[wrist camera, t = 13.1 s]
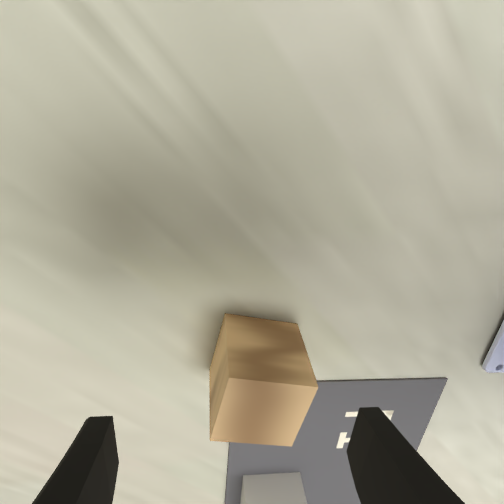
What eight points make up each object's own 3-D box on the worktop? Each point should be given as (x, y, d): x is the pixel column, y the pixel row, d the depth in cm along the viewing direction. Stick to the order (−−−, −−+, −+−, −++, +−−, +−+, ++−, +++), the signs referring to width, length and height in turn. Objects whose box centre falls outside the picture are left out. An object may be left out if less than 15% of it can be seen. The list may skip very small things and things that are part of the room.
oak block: (297, 323, 23) (318, 387, 18) (276, 376, 25) (291, 446, 20) (224, 312, 22) (229, 377, 18) (209, 369, 24) (209, 440, 19)
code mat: (446, 377, 26) (447, 379, 26) (393, 501, 33) (394, 503, 33) (233, 383, 24) (234, 384, 24) (224, 513, 31) (224, 515, 31)
